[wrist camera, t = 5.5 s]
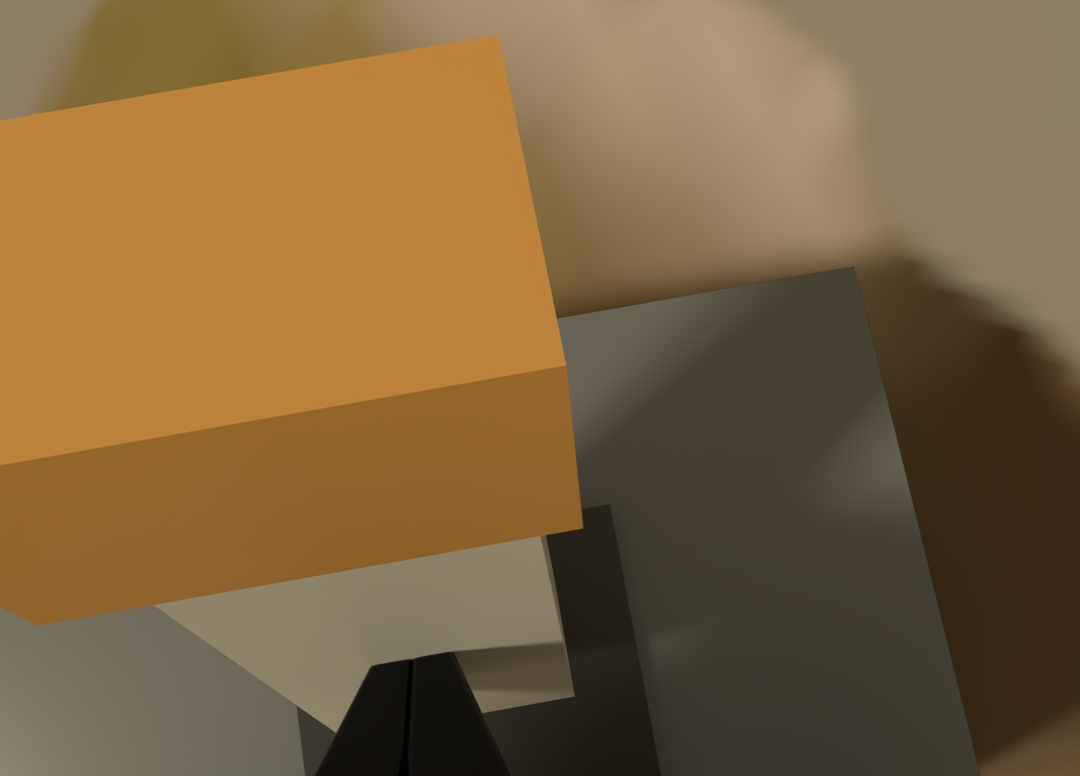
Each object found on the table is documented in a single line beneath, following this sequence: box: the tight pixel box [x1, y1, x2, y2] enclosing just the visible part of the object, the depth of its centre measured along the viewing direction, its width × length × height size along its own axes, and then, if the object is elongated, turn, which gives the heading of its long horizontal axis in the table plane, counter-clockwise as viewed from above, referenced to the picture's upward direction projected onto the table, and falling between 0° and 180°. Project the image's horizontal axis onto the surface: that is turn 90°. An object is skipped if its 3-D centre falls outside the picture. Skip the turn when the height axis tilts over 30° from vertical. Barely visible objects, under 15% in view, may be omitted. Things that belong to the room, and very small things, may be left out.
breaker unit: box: [0, 267, 980, 776], centre depth 16 cm, size 10×14×6 cm
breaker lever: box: [0, 35, 583, 732], centre depth 9 cm, size 2×4×8 cm, turn 100°
